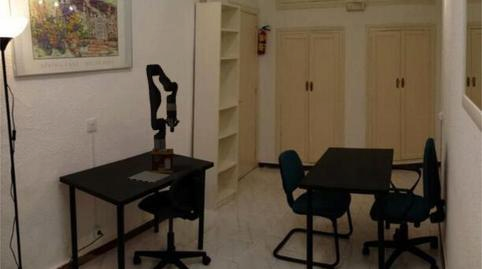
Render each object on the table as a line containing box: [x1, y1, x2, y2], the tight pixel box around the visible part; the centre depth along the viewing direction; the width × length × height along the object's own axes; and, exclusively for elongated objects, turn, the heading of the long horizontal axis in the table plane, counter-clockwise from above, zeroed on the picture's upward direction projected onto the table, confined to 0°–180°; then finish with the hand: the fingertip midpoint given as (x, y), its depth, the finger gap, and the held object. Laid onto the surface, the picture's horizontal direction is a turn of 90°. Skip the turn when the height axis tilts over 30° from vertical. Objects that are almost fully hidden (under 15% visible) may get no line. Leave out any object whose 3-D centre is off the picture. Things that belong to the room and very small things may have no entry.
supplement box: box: [150, 148, 175, 174], centre depth 348 cm, size 10×15×16 cm
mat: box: [128, 170, 171, 183], centre depth 336 cm, size 22×19×1 cm
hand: (172, 132), depth 355 cm, fingers closed
